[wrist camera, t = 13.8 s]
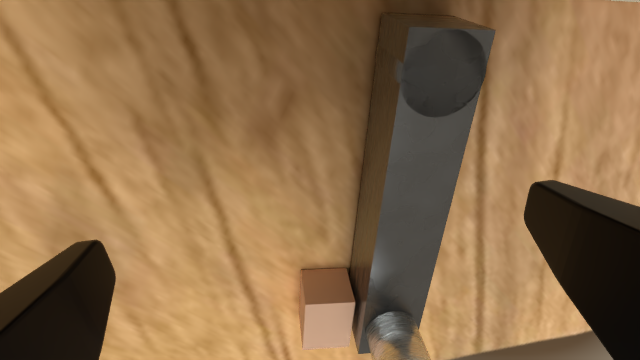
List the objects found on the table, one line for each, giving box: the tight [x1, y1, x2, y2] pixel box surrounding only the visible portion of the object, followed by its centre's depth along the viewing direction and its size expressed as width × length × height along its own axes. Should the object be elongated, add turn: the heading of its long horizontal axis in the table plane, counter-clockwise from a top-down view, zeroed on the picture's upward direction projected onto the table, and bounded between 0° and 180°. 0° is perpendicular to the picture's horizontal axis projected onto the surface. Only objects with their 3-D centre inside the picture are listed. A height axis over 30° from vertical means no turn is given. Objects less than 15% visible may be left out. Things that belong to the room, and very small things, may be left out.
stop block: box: [299, 268, 355, 350], centre depth 26 cm, size 4×3×3 cm
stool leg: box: [349, 13, 496, 360], centre depth 19 cm, size 19×4×9 cm, turn 177°
